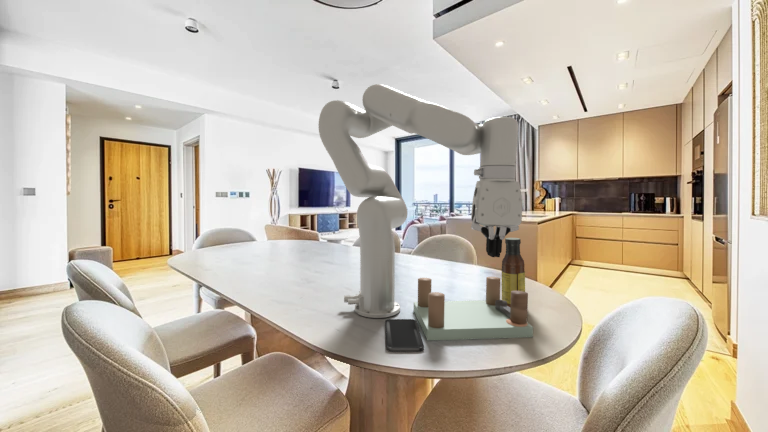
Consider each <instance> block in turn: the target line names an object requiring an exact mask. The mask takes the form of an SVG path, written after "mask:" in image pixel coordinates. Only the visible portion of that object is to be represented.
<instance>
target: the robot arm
mask: <svg viewBox="0 0 768 432" xmlns="http://www.w3.org/2000/svg"><path fill="white" fill-rule="evenodd" d="M362 94H363V95H362V106H363V108H364V109H363V108H360V107H358V106H356V105H355V104H351V103H350V102H348V101H344V100H338V99H337V100H331V101H329V102H327V103H325V105H324V106H323V107H322V109H321V112H320V113H319V118H318V134H319V138H320V140H321V143H322V144H323V146H324V148H325V150H326V151H327V153H328V155H329V157H330V158H331V160H332V162H333V164H334V167H335V169H336V171H337V173H338V174H339V176H340V178H341V180H342V182H343V184H344V186H345V188H346V189H347V191H348V193H349V194H350V195H351V196H353V197H357V198H365V199H364V200H362V202H361V203H360V204H359V205H358V208H357V211H356V222H357V229H358V234H359V254H360V255H359V258H360V259H359V263H360V264H359V265H360V268H359V270H360V272H359V274H360V281H359V282H360V283H359V285H360V289H359V290H360V291H358V292H359V293H356V294H355V295H349V294H346V295H344V296H343V297H344V298H343V301H344V303H347V305H349V306H350V305H354V312H355V313H356V314H357V315H359V316H361V317H365V318H370V319H383V318H384V319H385V318H390V317H393V316H396V315H397V314H399V313H400V311H401V305H400V304H399V303H398V302H397V301H395V293H396V292H395V282H396V281H395V278H396V277H395V276H396V275H395V273H396V272H395V271H396V269H395V267H396V265H395V263H396V262H395V260H396V259H395V258H396V257H395V256H396V255H395V254H396V247H395V246H396V245H395V238H394V235H393V230H392V229H396V228H399V227H401V226H402V225H403V224H404V223H405V222H406V220H407V218H408V208H407V205H406V202H405V200H404V198H403V197H402V194H401V193H400V191H399V190H398V187H397V186H396V184H395V183H394V180H393V179H392V177H391V175H390V174H389V173H388V172H387V171H386V170H385V169H384V168H382V167H380V166H377V165H373V164H370V163H369V162H368V161H367V159H366V158H365V156H364V155H363V152H362V150H361V149H360V147H359V145H358V144H357V143H356V142H355V140H354V139H353V138H356V139H364V138H368V137H370V136H372V135H375V134H377V133H380V132H382V131H383V130H386V129H388V128H390V127H392V126H393V127H395V128H397V129H400V130H402V131H404V132H406V133H408V134H415V135H418V136H420V137H423V138H426V139H428V140H429V141H432V142H435V143H437V144H439V145H441V146H443V147H446V148H447V149H449V150H451V151H454V152H455V153H457V154H459V155H462V156H472V155H478V154H480V167H478V169H474V171H473V174H474V176H477V177H478V179H479V180H477V181H476V184H475V188H474V191H473V197H472V203H471V214H470V215H471V218H470V219H471V225H470V228H471V230H473V231H478V232H480V233H482V235H483V236H484V238H486V240H485V241H486V243H485V251H486V253H487V256H489V257H491V258H501V253H502V252H503V251H502V250H503V240H505V239H506V238H505V237H506V236H507V235H508V234H509V233H510V232H515V231H516V232H517V231H519V230H520V227H519V226H520V225H521V223H522V220H523V202H522V201H523V199H522V189H521V185H520V181H516V174H517V173H516V172H517V171H516V170H517V155H518V153H517V152H518V138H519V137H518V136H519V135H518V133H519V123H518V120H516V119H515V118H513V117H510V116H497V117H491V118H488V119H486V120H485V121H484V122H483V124H482V123H481V124H478V123H476V122H475V121H474V120H473V119H471V118H470V117H468V116H466V115H465V114H463V113H460V112H458V111H455V110H452V109H450V108H447V107H445V106H443V105H439V104H437V103H434V102H430V101H426V100H424V99H421V98H418V97H416V96H412V95H410V94H407V93H404V92H403V91H400V90H398V89H395V88H393V87H390V86H389V85H384V84H379V83H377V84H372V85H369V87H366V89H365V91H364V92H363V93H362ZM352 137H353V138H352ZM494 227H495V229H494Z"/></svg>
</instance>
